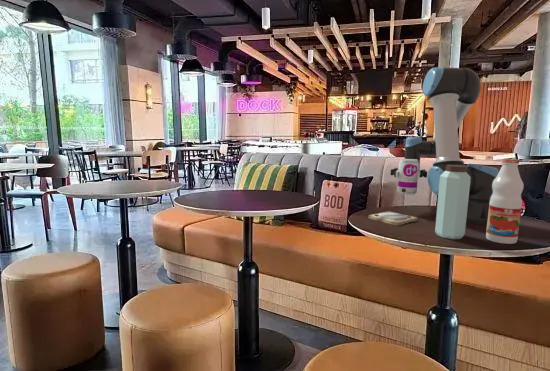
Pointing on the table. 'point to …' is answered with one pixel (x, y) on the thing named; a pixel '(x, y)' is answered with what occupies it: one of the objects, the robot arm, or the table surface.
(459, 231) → the water bottle
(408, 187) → the supplement can
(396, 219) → the dock board
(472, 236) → the table surface
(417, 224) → the table surface
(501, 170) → the fruit juice
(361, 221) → the table surface
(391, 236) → the table surface
